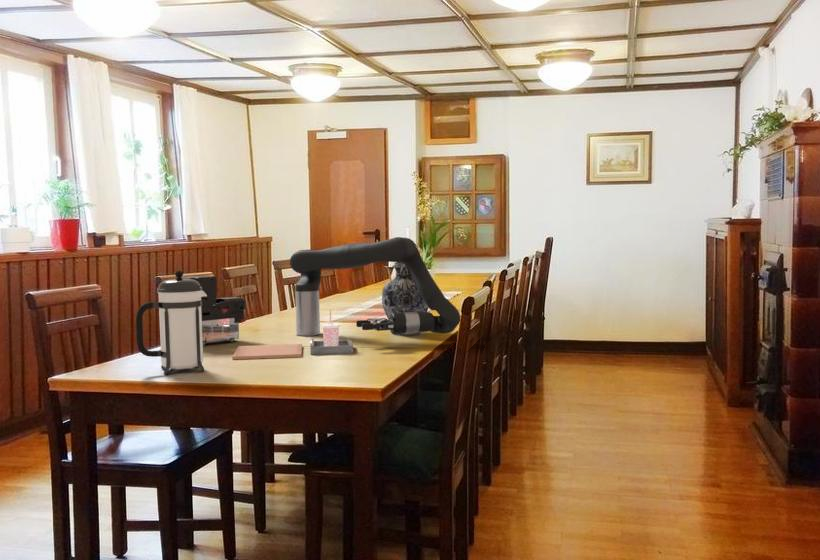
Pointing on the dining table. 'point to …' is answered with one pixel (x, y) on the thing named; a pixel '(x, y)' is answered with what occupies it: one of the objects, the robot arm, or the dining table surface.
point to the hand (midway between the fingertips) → (359, 325)
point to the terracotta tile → (268, 351)
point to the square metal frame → (330, 347)
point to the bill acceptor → (219, 312)
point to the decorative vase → (402, 294)
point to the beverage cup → (330, 333)
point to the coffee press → (176, 324)
